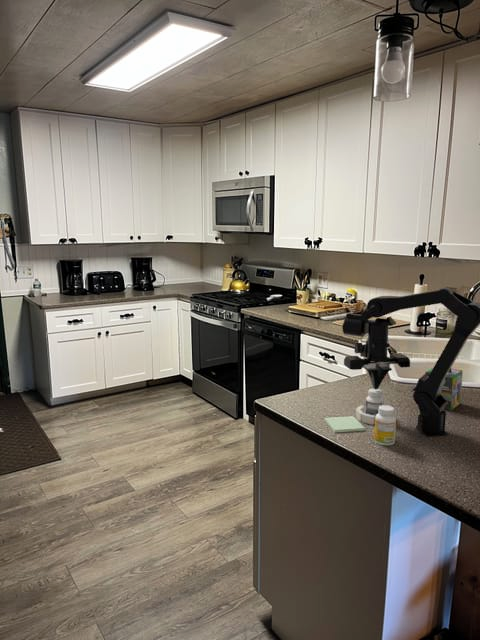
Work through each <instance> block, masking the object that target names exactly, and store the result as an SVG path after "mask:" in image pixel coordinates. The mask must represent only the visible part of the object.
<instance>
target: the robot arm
mask: <svg viewBox="0 0 480 640" xmlns="http://www.w3.org/2000/svg"><path fill="white" fill-rule="evenodd" d="M439 304H441V305H443V306H444V307H445V308H446V309H447V310H448V311H450V312H451V314H454V316H455V317H456V320H455V324H454V327H453V328H454V329H453V332H452V334H451V336H450V338H449V340H448V341H447V343H446V345H445V347H444V348H443V350H442V351H441V354H440V355H439V357H438V359H437V360H436V361H437V362H435V365H434V366H433V367H432V368H433V370H432V371H431V373H430V375H429V376H428V375H427V374H425V373H424V374H423V375H421V376H420V378H418V380H417V383H416V386H415V387H413V389H412V392H413V394H412V398H413V400H414V403H415V405H417V407H418V410H419V414H418V415H417V425H415V428H416V429H417V430H418V431H419V432H421V433H422V434H423V435H425V436H426V437H436V436H438V437H439V436H448V434H449V433H448V432H447V431H446V422H447V421H446V419H447V412H446V410H445V408H446V406H447V404H448V401H447V400H446V399H445V398H444V397H443V396H442V395H441V391H442V388H443V384H444V379H445V377H446V375H447V374H448V372H449V370H450V369H452V367H453V365H454V364H455V362H456V360H457V358H458V357H459V355H460V353H461V352H462V350H463V348H464V346H465V344H466V342H467V341H468V339H469V338H470V336H472V334H473V333H474V332H476V330H477V328H479V326H480V301H472V300H471V299H470V298H467V296H463V295H461V294H460V293H459V292H456V291H455V290H453V289H452V288H450V287H443V288H440V289H435V290H430V291H429V290H428V291H423V292H420V293H419V292H418V293H413V294H408V295H400V296H399V295H380V296H376V297H373V298H371V299H369V300H368V301H367V304H366V309H364V311H363V312H362V313H361V314H357V313H355V312H347V313H346V314H345V318H344V320H343V324H342V328H341V329H342V333H343V334H344V335H346V336H354V337H363V338H364V336H366V335H367V340H366V341H365V344H363V343H362V342H355V343H354V354H359V355H360V357H359V356H358V355H346V356H345V357H344V359H343V366H345V367H346V368H347V369H349V370H351V371H356V370H362V369H364V370H365V371H367V373H368V374H369V378H370V381H371V384H372V387H373V388H372V389H379V387H380V386H381V383H382V382H383V381H384V379H385V377H386V376H387V375H388V373H389V372H390V371H392V370H393V369H392V367H391V365H396V364H397V365H398V367H399V368H410V367H411V359H410V358H409V357H408V356H407V355H404V354H403V353H392V354H391V353H390V355H389V356H388V349H389V348H390V345H391V343H389V327H393V326H394V325H397V322H396V321H395V320H394V319H393V318H392V315H391V316H387V315H389V314H392V313H395V312H397V311H400V310H401V311H402V310H407V309H412V308H420V307H425V306H431V305H432V306H433V305H439ZM384 316H387V318H382V317H384ZM373 318H375V319H373ZM362 357H364V358H362Z"/></svg>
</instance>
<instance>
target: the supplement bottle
mask: <svg viewBox="0 0 480 640" xmlns="http://www.w3.org/2000/svg"><path fill="white" fill-rule="evenodd" d="M378 412H379V413H378V414H377V415H376V417H375V424H374V439H373V440H374V442H375V443H376V444H378V445H381V446H392V445H394V444H395V443H396V429H397V428H396V427H397V418H396V415H395V414H394V413H395V408H394V407H393V406H391V405H388V404H387V405H385V404H384V405H382V406H379V409H378Z"/></svg>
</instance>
